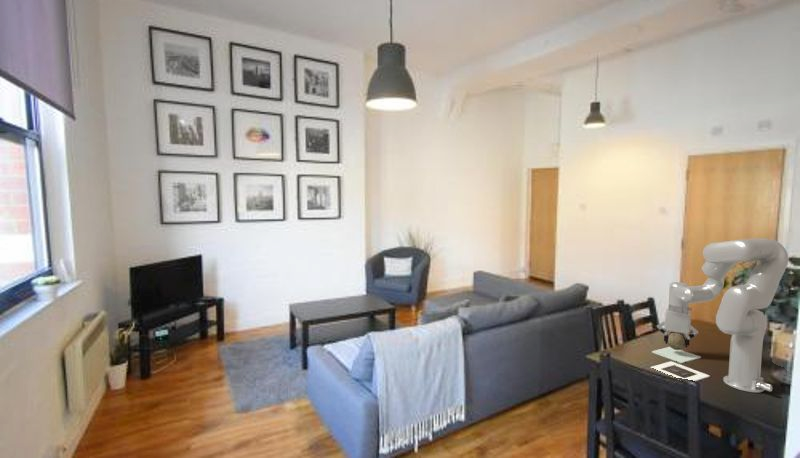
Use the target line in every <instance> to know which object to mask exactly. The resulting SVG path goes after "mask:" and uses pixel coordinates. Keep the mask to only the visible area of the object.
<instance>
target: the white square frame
mask: <svg viewBox="0 0 800 458" xmlns="http://www.w3.org/2000/svg"><path fill="white" fill-rule="evenodd" d="M672 367H678V368H680V369H683V370H686V371H688V372H691V373H694V375H690V376H688V377H684V376H686V375H689V373H688V372H682V373H681V374H682V375H680V376H679V375H677V374H676V372H677V373H679V372H681V370H679V369H676V368H672ZM652 368H654V369H656V370H655V371H657V370H658V371H657V372H659V371H661V372H660V373H662V372H663V373H662V374H664V373H665V375H667V374H668V375H667V376H669V375H672V376H673V377H672V376H671V377H672V378H674V377H676V378H682V379H688V380H693V381H695V382H699V381H701V380H704V379H707V378H710V377H711V376H710V375H709V374H706V373H705V372H701V371H698V370H695V369H693V368H692V367H691V368H690V367H687V366H686V365H682V364H681V363H678V362H676V361H673V360H670V361H666V362H663V363H661V364H657V365H652V366H650V369H652ZM669 368H671V369H670V372H669V371H667V370H665V369H669ZM654 369H653V370H654ZM671 370H672V372H675V373H672V372H671ZM682 376H683V377H682ZM676 378H675V379H676Z"/></svg>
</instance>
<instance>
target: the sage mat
mask: <svg viewBox="0 0 800 458" xmlns="http://www.w3.org/2000/svg"><path fill="white" fill-rule="evenodd" d="M651 354H654V355H655V354H656V355H658V356H660V357H663V358H665V359H669V360H670V361H673V362H676V361H677V362H676V363H678V364H685V362H686V363H689V362H692V361H696V360H699V359H701V358H702V356H700V355H698V354H694V353H691V352H688V351H684V350H683V349H681V350H674V349H672V348H671V347H670V346H667V347H663V348H660V349H654V350H652V351H651Z"/></svg>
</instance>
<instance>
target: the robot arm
mask: <svg viewBox="0 0 800 458" xmlns="http://www.w3.org/2000/svg"><path fill="white" fill-rule="evenodd" d="M787 251H788V250H787V249H786V247H785V246H783V244H781V243H780V242H779V241H777V240H775V239H771V238H763V237H760V238H745V239H744V238H742V239H735V240H728V241H727V240H726V241H718V242H716V241H715V242H711V243H708V244H707V245H705V246H704V248H703V249H702V257H703V259H704V260H705V262H704V263H703V264H702V266H701V271H702V273H703V274H704V275H705V276H706V277H708V278H707V279H706V280H705V282H704V283H703V284H702V285H691V286H689V285H688V283H685V282H681V281H680V282H678V281H676V282H675V281H674V282H673V281H672V282H670V284H669V290H668V293H669V294H668V308H667V309H666V311H665V315H664V321H662V322H660V323H658V324H657V325H656V327H657V329H658V330H659V332H661V334H662V335H663V342H665V345H666V344H668V341H667V340H668V336H669V332H670V333H671V332H677V333H682V334H683V335H684V337H685V340H686V344H685V347H684V348H688V347H689V346H690V340H691V339H692V338H694V337H695V336H697V335H698V334H699V331H698V330H697V329H696V328H695V327H694V326H692V325H691V323H692V322H691V320H692V319H691V313H690V312H691V311H693V310H692V309H693V308H692V307H691V306H689V304H697V303H698V304H699V303H707V302H708V303H709V302H711V301H713V300H715V298H717V297H718V296H719V294H720V293H721V292H722V291H723V288H724V286H725V285H724V284H725V279H724V278H725V277H726V276H727V274H728V273H729V272H730V271H731V270H732V269H733V267H735V265H736V264H737V263H743V262H744V263H745V262H756V261H757V262H758V264H757V265H755V266H754V268H753V269H752V270H751V271H750V274H749V277H748V279H747V281H746V282H745V284H741V285H733V286H732V287H729V288H728V289H727V290H726V291H725V292H724V294H723V296H722V298H721V302H720V304H719V307H718V309H717V313H716V316H715V325H716V327H717V328H718V330H719V331H721V332H722V333H723V334H725V335H731V338H730V343H729V345H730V346H729V363H728V374H727V375H725V376H723V379H722V380H723V382H724V384H726V385H728V386H729V387H731V388H734V389H737V390H739V391H744V392H748V393H762V392H765V391H767V392H772V391H773V385H772V384H770V383H767V382H765V381H764V377H762V376H761V373H762V372H761V370H762V358H763V357H762V356H763V355H762V354H763V344H764V337H765V333H766V330H767V327H768V320H767V317H766V315H765V314H764V313H763V312H762V311H760V310H761V309H765V308H766V309H767V308H768V307H769V306H771V303H772V302H773V299H774V296H775V294H776V292H777V289H778V287H779V285H780V282H781V279H782V277H783V275H784V273H785V272H786V269H787V267H788V264H789V254H788V252H787ZM662 327H663V328H662ZM691 331H692V333H691Z"/></svg>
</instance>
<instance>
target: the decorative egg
mask: <svg viewBox="0 0 800 458" xmlns="http://www.w3.org/2000/svg"><path fill="white" fill-rule="evenodd" d="M667 341H668V342H667V344H668V347H671V348H672V349H674V350H683V349H684V348H686V347H685V344H686V336H685V334H683V333H677V332H671V331H670V333H668V340H667Z"/></svg>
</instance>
